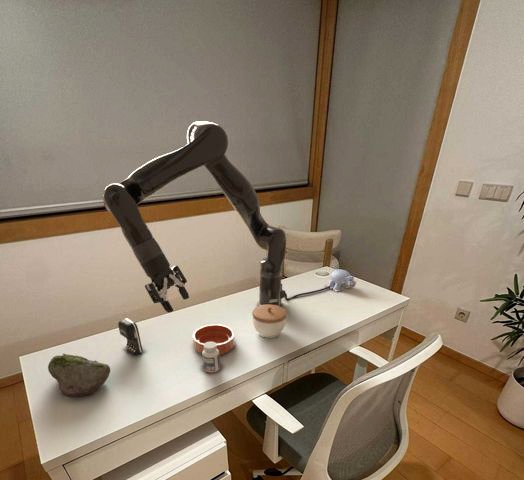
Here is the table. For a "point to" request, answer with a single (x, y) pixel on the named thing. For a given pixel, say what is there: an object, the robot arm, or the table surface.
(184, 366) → the table surface
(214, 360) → the pill bottle
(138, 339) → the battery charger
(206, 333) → the terracotta bowl
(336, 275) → the hippopotamus toy
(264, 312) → the lidded bowl
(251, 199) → the robot arm
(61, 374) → the stone
